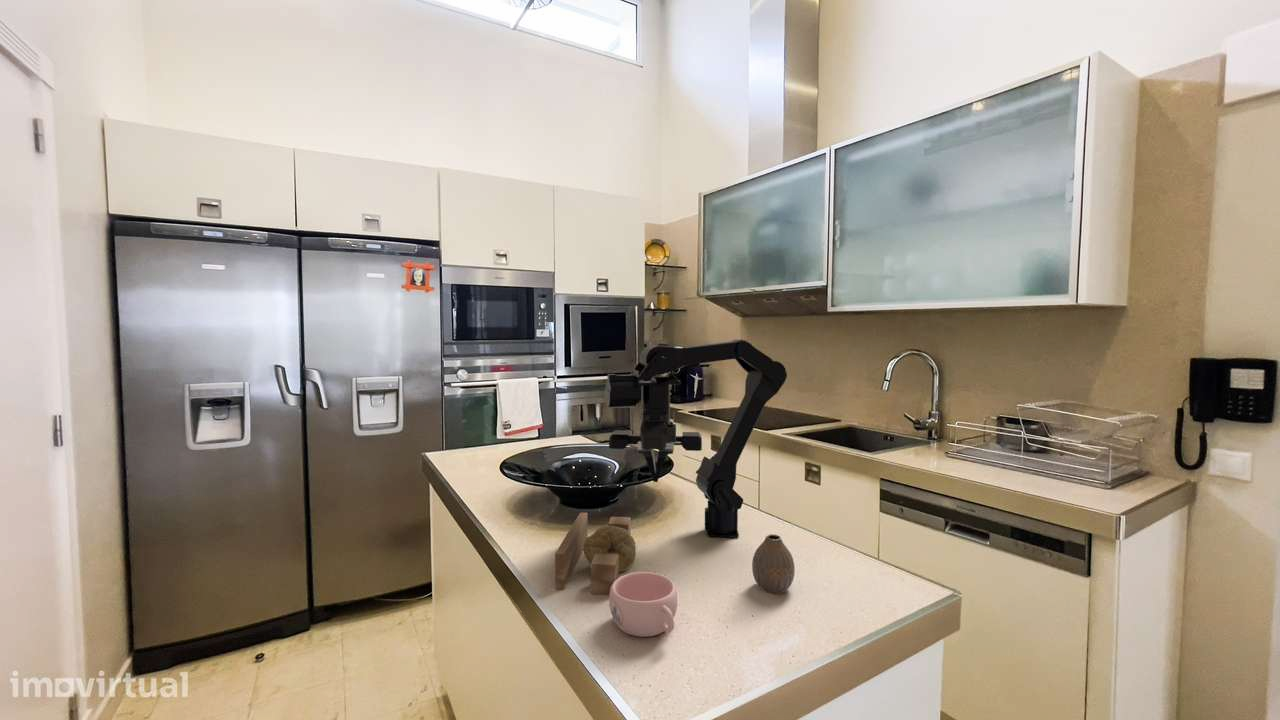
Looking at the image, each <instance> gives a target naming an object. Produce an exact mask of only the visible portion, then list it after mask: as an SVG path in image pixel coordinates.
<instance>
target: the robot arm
mask: <svg viewBox="0 0 1280 720" xmlns="http://www.w3.org/2000/svg"><path fill="white" fill-rule="evenodd" d="M729 360H735V361H736V362H737V363H738V365H739V366H740V367H741V368H742V370H744V371H745V372H746V373H747V376H746V379H745V385H744V386H745V387H744V389H745V390H744V395H743V397H742V399H741V402H740V404H739V406H738V408H737V410H736V412H735V414H734V417H733V419H732V421H730V422H731V423H730V425H729V427H728V428H727V431H726V432H725V435H724V437H723V439H722V441H721V443H720V445H719V447H718V449H717V451H716V453H715V454H714V455H713V456H712V457H710V458H709V457H707V456H703V458H702V459H701V463H700V466H699V468H698V469H697V470H696V471H695V474H697V475H696V478H695V482H696V486H697V489H698V490H700V491H701V492H702V493H703V496H704V498H705V499H706V500H707V507H705V508H704V531H706V534H707V537H717V538H718V537H719V538H739V536H740V535H739V530H738V526H739V525H738V523H739V522H738V521H739V520H738V519H739V516H738V515H739V511H738V510H740V509H741V508H742V505H743V503H744V499H743V497H742V496H740V494H739V493H738V492H736V491H735V489H734V487H735V484H736V479H737V464H738V462H739V460H740V458H741V455H742V453H743V451H744V449H745V447H746V445H747V443H748V440H749V439H750V436H751V435H752V432H753V430H754V428H755V427H756V424H757V422H758V420H759V418H760V415H761V413H762V412H763V409H764V408H765V405H766V404H767V403H768V402H769V401H770V400H771V399H772V398H774V397H775V396H776V395H777V394H778V393H779V391H780V390H781V388H782V387H783V385H784V384H785V382H786V381H787V378H788V372H787V371H786V367H785V366H784V365H783V364H782V363H781V362H780V361H776V360H773V359H772V358H771V357H770V356H769V355H766V354H765V353H763V352H762V351H760V350H759V349H758V348H756V347H755V346H754V345H752V343H750V342H749V341H748V340H746V339H732V340H730V341H722V342H714V343H706V344H697V345H691V346H690V345H688V346H669V345H655V344H651V345H647V346H646V347H644V348H643V350H642V351H641V352H640V355H639V361H638V363H637V364H636V365H635V366H634V368H633V369H632V371H631V372H630V374H615V373H608V374H607V378H606V379H607V380H606V383H605V389H604V402H605V403H604V404H605V407H606V409H622V408H626V409H627V408H635V407H636V406H637V404H640V403H641V424H640V427H639V429H640V433H639V434H640V435H639V434H632V431H631V430H619V429H617V430H616V429H615V430H614V431H613V432H612V433H611V434H610V435H609V438H608V449H611V450H615V449H616V450H625V449H626V447H628V445H636V446H637V450H636V452H637V454H642V456H643V457H644V459H645V461H646V464H647V466H648V469H649V472H650V475H651V478H652V481H653V483H658V482H659V479H660V474H661V471H662V469H663V465H664V463H665V460H666V458H667V457H668V455H673V454H674V449H675V446H681V447H682V449H684V450H685V451H693V452H700V451H701V452H702V448H703V447H702V445H703V444H702V443H703V442H702V439H703V438H702V434H701V433H700V432H698V431H682V432H681V434H682V435H677V425H676V423H671V402H670V401H671V385H673V386H674V385H677V386H678V385H680V384H681V380H679V379H678V378H677V377H676V376H675V375H674V373H673V372H674V371H677V370H679V369H680V370H681V368H684V367H686V366H690V365H697V364H706V363H713V362H721V361H729ZM664 374H666V375H664ZM657 375H661V376H657ZM655 450H658V454H657V461H656V460H655ZM655 461H656V462H655Z"/></svg>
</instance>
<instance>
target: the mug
mask: <svg viewBox="0 0 1280 720" xmlns="http://www.w3.org/2000/svg"><path fill="white" fill-rule="evenodd" d="M608 596H609V597H608V601H609V605H608V606H609V610H610V615H611V616H612V619H613V620H614V623H615V625H616V626H617V627H618V628H619V629H620V630H621V631H622V632H623V633H626V634H627V635H631V636H634V637H641V638H644V637H654V636H657V635H660V634H661V633H667V634H670V633H672V632H673V630H674V629H675V620H674V618H675V616H676V614H677V613H676V612H677V608H678V601H679V600H678V591H677V587H676V585H675V583H674V582H673V581H672V580H671V579H670V578H668V577H667V576H665V575H663V574H660V573H656V572H650V571H636V572H631V573H626V574H624V575H621V576H620V577H619V578H618V579H617V580H616V581H614V583H613V584H612V586H611V589H610V594H609V595H608Z"/></svg>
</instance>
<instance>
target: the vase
mask: <svg viewBox="0 0 1280 720" xmlns="http://www.w3.org/2000/svg"><path fill="white" fill-rule="evenodd" d="M795 566H796V565H795V561H794V557H793V555H792V553H791V551H790V550H789V548H787V546H786V545H785V543H784V541H783V539H782V537H781V536H780V535H779V534H767V535H766V536H765V538H764V540H763V542H762V543H760V545H759V546H758V547H757V548H756V550H755V552H754V555H753V557H752V563H751V567H752V568H751V569H752V575H753V579H754V581H755V583H756V584H757V586H758V587H759V588H760V589H761V590H762V591H763V592H765V593H769V594H772V595H775V594H776V595H778V594H783V593H785V592H786V591H787V590H788V589H789V588H790V587H792V586H791V585H792V583H793V581H794V578H795V572H796V570H795V569H796V568H795Z"/></svg>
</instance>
